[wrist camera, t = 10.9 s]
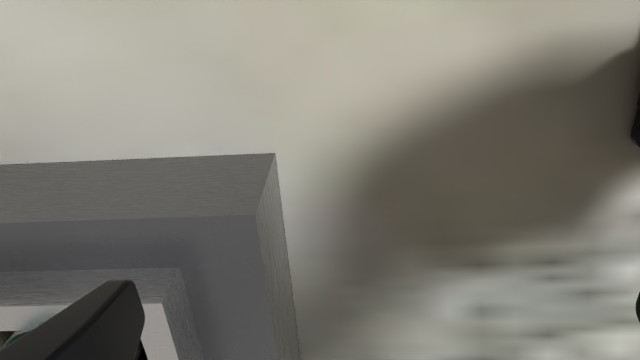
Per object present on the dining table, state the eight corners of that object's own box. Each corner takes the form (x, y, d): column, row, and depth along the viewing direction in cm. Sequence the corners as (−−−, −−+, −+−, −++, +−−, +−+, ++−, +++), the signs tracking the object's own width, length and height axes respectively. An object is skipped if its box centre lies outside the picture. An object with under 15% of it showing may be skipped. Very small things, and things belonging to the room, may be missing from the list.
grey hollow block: (275, 153, 21) (244, 247, 15) (300, 362, 28) (288, 492, 21) (-85, 168, 23) (-260, 261, 16) (20, 365, 29) (-74, 489, 22)
